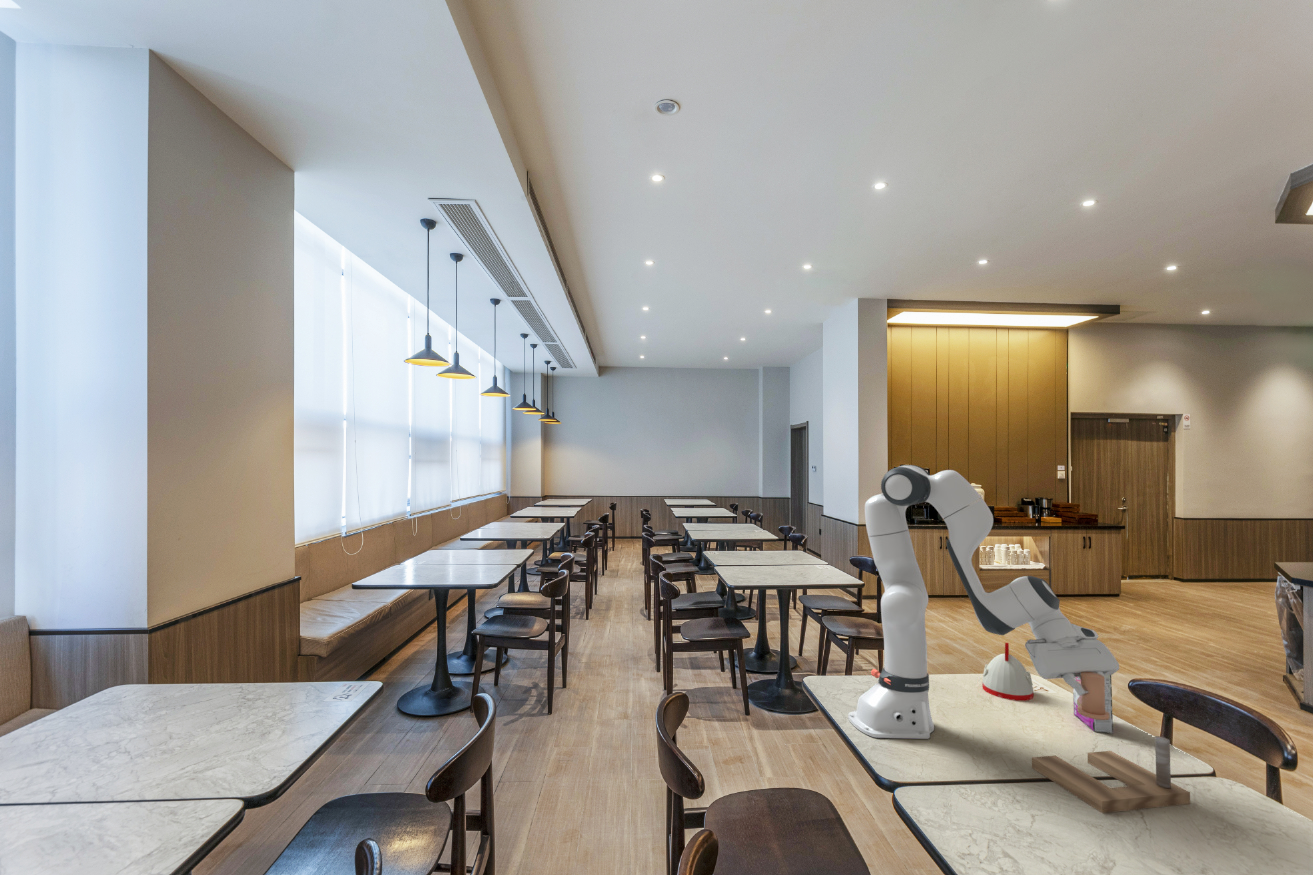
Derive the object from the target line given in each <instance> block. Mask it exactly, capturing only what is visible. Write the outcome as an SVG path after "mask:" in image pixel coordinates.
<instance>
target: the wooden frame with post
mask: <svg viewBox="0 0 1313 875" xmlns="http://www.w3.org/2000/svg"><path fill="white" fill-rule="evenodd" d="M1170 742H1171V740H1170V739H1169V738H1166V737H1164V736H1158V735H1157V736H1155V737H1154V745H1155V746H1154V748H1155V773H1154V772H1152V771H1150V770H1148V769H1146V768H1144V767H1143V766H1142V765H1141V766H1140V765H1139V764H1137V763H1135V762H1133V761H1131V760H1130V759H1127V758H1125V757H1123V756H1121V755H1119V754H1117V753H1116V752H1114V751H1112V750H1102V751H1095V752H1094V751H1091V752H1087V763H1088V764H1089V765H1091V766H1093V767H1094V768H1097V769H1098V770H1100V771H1102V772H1103V773H1105V774H1107V775H1108V776H1110V777H1112V778H1114V779H1116V780H1118V781H1119V782H1121V783H1123V784H1125V785H1124V786H1116V787H1111V786H1108V785H1106V783H1103V782H1101V781H1100V780H1098V779H1097V778H1094V777H1093V776H1092V775H1089V774H1088V773H1087V772H1085V771H1083V770H1081V769H1079V768H1077V767H1076V766H1074V765H1073V764H1070V763H1069V762H1067V761H1066V760H1064V759H1063V758H1061V757H1059V756H1057V755H1047V756H1046V755H1045V756H1044V755H1043V756H1034V757H1031V769H1033V770H1035V771H1036V772H1037V773H1039V774H1040V775H1043V776H1044V777H1046V778H1047V779H1049V780H1050V781H1052V782H1053V783H1055V784H1056V785H1058V786H1060V787H1061V788H1063V789H1064V790H1066V791H1067V792H1069V793H1070V794H1072V795H1074V796H1075V797H1077V798H1078V799H1080V800H1081V801H1083V802H1085V803H1086V804H1088V805H1089V806H1091V807H1092V808H1094V809H1095V810H1097V811H1098V812H1100V813H1102V814H1105V813H1115V812H1125V811H1133V810H1145V809H1153V808H1154V809H1155V808H1163V807H1171V806H1181V805H1190V804H1191V793H1190V792H1191V791H1188V790H1187V789H1184V788H1182V787H1180V786H1179V785H1177V784H1176V783H1175V784H1174V783H1173V782H1171V780H1172V779H1171V776H1172V775H1171V774H1172V773H1171V746H1170V745H1171V744H1170Z"/></svg>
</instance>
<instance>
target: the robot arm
mask: <svg viewBox="0 0 1313 875" xmlns="http://www.w3.org/2000/svg"><path fill="white" fill-rule="evenodd" d="M880 483H881V484H880V490H881V492H882V493H879V494H875V495H872V496H871V497H869V498H868V499H867V500H866V501H865V503H864V518H865V519H864V520H865V526H866V527H865V528H866V533H867V537H868V542H869V546H870V550H871V554H872V557H873V562H874V564H875V567H876V569H877V571H878V574H879V577H880V579H881V581H882V585H883V589H884V592H883V593H882V595H881V599H880V612H881V613H880V614H881V615H880V616H881V625H882V634H883V648H884V649H883V651H884V652H883V654H884V655H883V656H884V659H883V663H884V664H883V666H884V667H883V668H882V670H881V671H879V670H877V669H876V668H872V670H871V672H870V673H871V674H870V675H871V676H872V677H874V678H876V679H878V681H877V682H876V683H875V684H874V685H873V686H871V687H870V688H869V689H868V690H867V691H865V692H863V693H862V694H861V695H860V696H859V697H858V700H857V705H856V710H853V711H850V712H848V714H847V716H848V721H849V722H850V723H851V725H852V726H854V727H855V728H856V729H857V730H858V731H860V732H861V733H863V734H865V735H867V736H870V737H872V738H875V739H876V738H879V739H882V738H883V739H920V740H921V739H922V740H924V739H925V740H928V739H931V733H932V732H934V730H935V724H934V721H933V717H932V713H931V708H930V700H929V690H930V675H929V673H928V644H927V634H926V633H927V632H926V611H927V607H928V604H929V595H928V592H927V588H926V584H925V581H924V578H923V576H922V572H921V569H920V567H919V566H920V565H919V563H918V561H917V558H916V553H915V550H914V545H913V542H912V537H911V534H910V530H909V526H908V523H907V522H908V521H907V518H906V512H907V508H910V507H912V506H913V505H917V504H923V503H925V502H926V503H929V504H930V505H931V506H932V507H934V509H935V510H936V511H937V512H938V514H939V515H940V517H941V518H942V519H943V521H944V523H945V526H946V527H947V530H948V539H947V540H946V548H947V551H948V555H949V557H950V559H951V561H952V564H953V566H954V568H955V570H956V572H957V574H958V577H959V579H960V581H961V583H962V584H963V588H964V589H965V591H966V594H967V595H968V597H969V598H968V599H969V600H970V602H971V605H972V607H973V611H974V614H975V616H976V620H977V621H978V623H979V625H981V627H982V628H984V630H985V632H988V633H991V634H994V635H998V636H1005V635H1007V634H1009V633H1010V632H1012V631H1014V630H1016V628H1019V627H1021V626H1024V625H1026V624H1028V625H1029V626H1030V629H1031V632H1032V635H1033V636H1034V638H1035V639H1032V638H1031V639H1027V641H1026V642H1025V644H1024V647H1025V649H1026V651H1027V653H1028V655H1029V657H1030V660H1031V662H1032V664H1033V666H1034V669H1035V671H1036V672H1037V674H1038V675H1039V677H1041V678H1042V679H1043V680H1044V679H1045V680H1051V679H1052V680H1053V679H1063V681H1064V683H1066V684H1068V686H1070V687H1071V688H1072V689H1073V688H1074V689H1075V690H1076V692H1077V693H1078V695H1079V696H1084V695H1087V694H1088V693H1089V691H1088V690H1087V689H1086V687H1085V685H1081V684H1080V683H1079V682H1078V681H1076V680H1075V679H1074V678H1075V677H1081V672H1093V673H1097V674H1100V675H1103V676H1104V679H1105V675H1111V676H1112V675H1114V674H1115V673H1117V672H1118V671H1119V670H1120V664H1119V662H1118V661H1117V658H1116V657H1115V656H1114V655H1113V653H1112V652H1111V650H1110V649H1109V648H1108V647H1107V646H1106V644H1105V643H1103V642H1102V641H1101V640H1099V639H1098V638H1099V634H1098V633H1097V632H1096V630H1093V629H1092V628H1091V629H1090V628H1087V627H1083V626H1080V625H1077V624H1075V623H1072V622H1070V620H1069V618H1068V617H1066V616H1065V615H1064V614H1063V613H1062V610H1061V608H1060V599H1059V597H1057V595H1056V594H1055V592H1054V590H1053V589H1052V588H1051V586H1050V584H1049V583H1048V582H1047V581H1046V580H1045V579H1044V578H1040V577H1036V576H1032V575H1026V576H1024V575H1023V576H1020V577H1017V578H1015V579H1013V581H1011V582H1009V583H1008V584H1006V585H1004V586H1002V587H1000V588H998V589H995V590H994V591H991V592H986V591H985V589H984V587H983V585H982V583H981V580H980V579H979V576H978V574H977V572H976V570H975V568H974V566H973V562H972V559H973V555H974V553H975V552H976V549H978V547H979V546H981V544H982V543H983V542H984V540H985V539H986V538H987V536H988V535H989V534H990V533H991V530H992V528H993V525H994V515H993V513H992V511H991V509H990V507H989V506H988V505H987V503H986V502H985V500H984V499H983V498H982V496H981V495H980V493H979V492H978V491H977V490H976V489H975V487H973V485H972V484H971V483H970V482H969V481H968V480H967V479H966V478H965V477H964V476H963V475H961V474H960V473H959V472H957V471H956V470H953V469H946V470H941V471H939V472H937V473H935V474H931V475H930V473H929V472H928V471H927V470H926V469H925V468H923V467H921V466H918V465H914V464H904V465H899V466H897V467H894V468H892V469H889V471H887V472H886V473H885V474H884V476H883V477H882V479H881V482H880ZM1109 692H1110V689H1109V688H1108V686H1107V685H1106V679H1105V694H1108V693H1109Z"/></svg>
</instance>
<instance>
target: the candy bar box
mask: <svg viewBox="0 0 1313 875" xmlns="http://www.w3.org/2000/svg"><path fill="white" fill-rule="evenodd" d="M1074 679H1075V680H1076V681H1078V682H1079V683H1080V684H1081V677H1075V678H1074ZM1105 679H1106V685H1107V686H1108V688H1109V689H1110V692H1109V693H1108V694H1105V711H1107V712H1108V713H1109V714H1110V719H1109V720H1096V719H1092V718H1088V717H1085V716H1083V715H1081V714H1079V713H1078V711H1077V707H1078V706H1081V696H1079V695H1078V693H1077V692H1076V690H1075V689H1074V688H1072V689H1073V690H1072V692H1073V715H1074V716H1075V717H1076V718H1077V719H1079V720H1080V721H1081V722H1082V723H1083V724H1085V725H1086V726H1087V727H1088V728H1089V729H1090V730H1091V731H1093V732H1095V733H1100V734H1101V733H1104V734H1114V723H1113V721H1114V720H1113V690H1112V687H1113V686H1112V675H1105Z"/></svg>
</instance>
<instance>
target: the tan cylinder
mask: <svg viewBox="0 0 1313 875" xmlns="http://www.w3.org/2000/svg"><path fill="white" fill-rule="evenodd" d="M1081 685H1085V687H1086V689H1087V690H1088V691H1089V693H1088V694H1087V695H1084V696H1081V706H1078V707H1077V711H1078V713H1079V714H1081V715H1083V716H1085V717H1088V718H1092V719H1096V720H1109V719H1110V714H1109V713H1108V712H1107V711H1105V679H1104V676H1103V675H1100V674H1097V673H1093V672H1081Z"/></svg>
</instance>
